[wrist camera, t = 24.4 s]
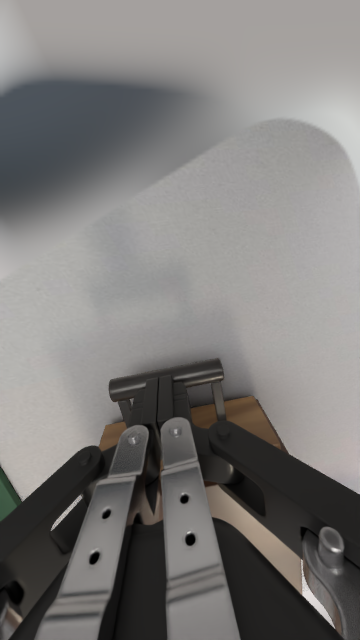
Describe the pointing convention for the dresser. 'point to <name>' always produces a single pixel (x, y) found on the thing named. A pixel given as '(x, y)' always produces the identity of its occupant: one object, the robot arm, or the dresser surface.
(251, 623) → the robot arm
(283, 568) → the cabinet
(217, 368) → the drawer
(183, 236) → the dresser surface
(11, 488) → the mat
